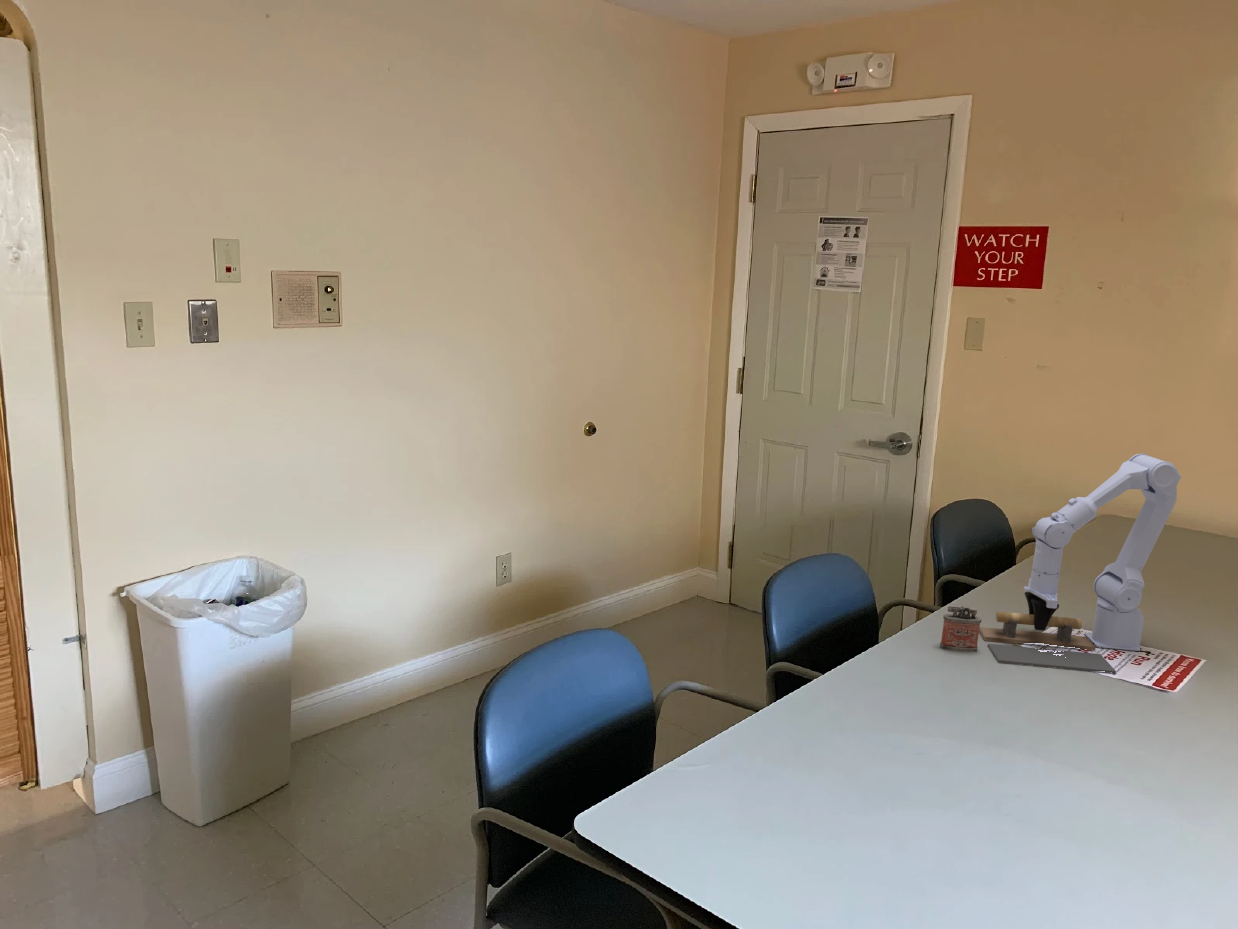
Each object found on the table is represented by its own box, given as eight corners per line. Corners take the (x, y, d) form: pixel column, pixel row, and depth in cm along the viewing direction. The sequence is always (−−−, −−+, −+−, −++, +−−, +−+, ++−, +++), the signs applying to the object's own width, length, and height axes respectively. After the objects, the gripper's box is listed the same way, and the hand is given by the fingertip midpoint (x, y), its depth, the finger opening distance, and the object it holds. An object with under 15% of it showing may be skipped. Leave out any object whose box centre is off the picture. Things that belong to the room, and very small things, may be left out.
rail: (1077, 627, 208) (1078, 617, 207) (1080, 631, 206) (1082, 621, 205) (995, 619, 210) (996, 610, 210) (998, 623, 208) (999, 613, 207)
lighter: (974, 647, 204) (980, 605, 202) (979, 653, 200) (984, 610, 198) (938, 644, 204) (943, 602, 202) (941, 650, 201) (947, 607, 199)
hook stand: (1085, 640, 210) (1088, 620, 209) (1095, 651, 204) (1098, 630, 203) (978, 630, 213) (980, 610, 212) (984, 640, 207) (987, 620, 206)
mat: (1100, 656, 201) (1100, 654, 201) (1115, 674, 193) (1116, 671, 192) (987, 646, 204) (988, 643, 204) (998, 662, 196) (998, 660, 196)
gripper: (1018, 559, 213) (1010, 613, 216) (1037, 579, 199) (1028, 637, 201) (1049, 561, 212) (1041, 616, 215) (1070, 582, 198) (1061, 640, 201)
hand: (1037, 626), depth 208 cm, fingers open, 3 cm apart
